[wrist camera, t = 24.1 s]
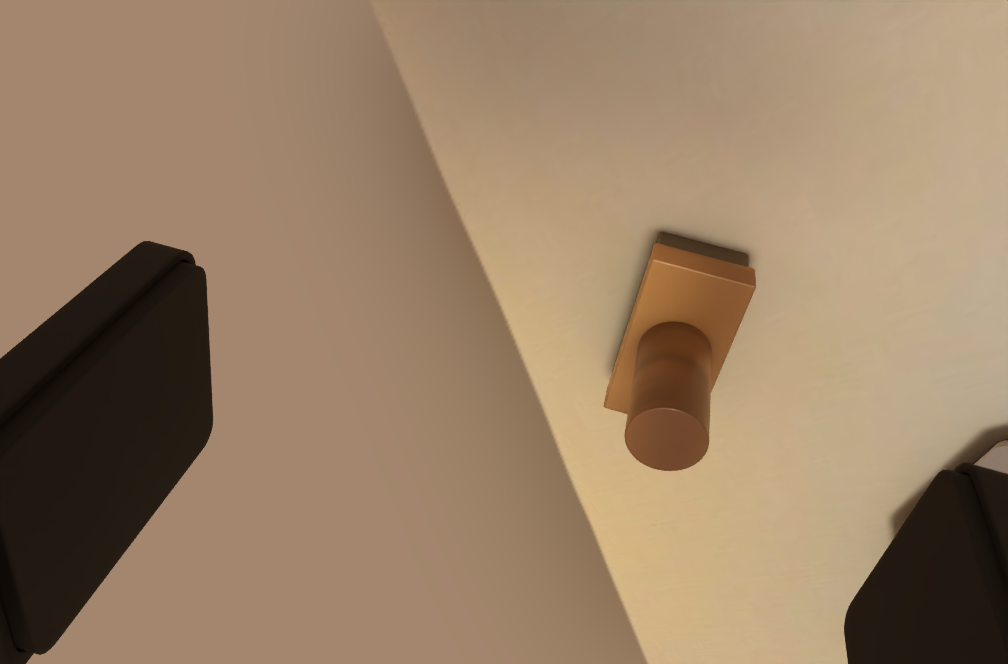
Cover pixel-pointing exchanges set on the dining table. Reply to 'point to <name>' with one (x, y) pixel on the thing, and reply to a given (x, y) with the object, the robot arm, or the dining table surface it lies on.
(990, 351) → the dining table surface
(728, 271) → the stamp
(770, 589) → the dining table surface
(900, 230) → the dining table surface
